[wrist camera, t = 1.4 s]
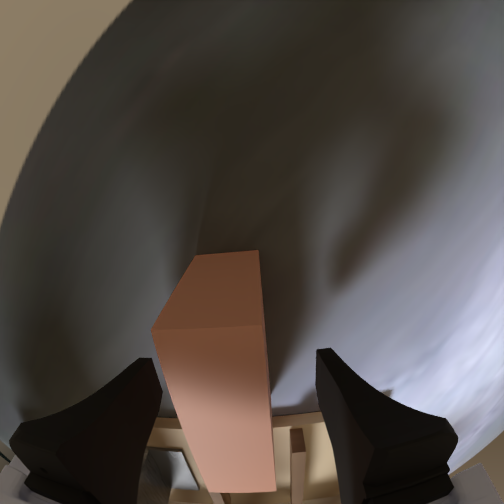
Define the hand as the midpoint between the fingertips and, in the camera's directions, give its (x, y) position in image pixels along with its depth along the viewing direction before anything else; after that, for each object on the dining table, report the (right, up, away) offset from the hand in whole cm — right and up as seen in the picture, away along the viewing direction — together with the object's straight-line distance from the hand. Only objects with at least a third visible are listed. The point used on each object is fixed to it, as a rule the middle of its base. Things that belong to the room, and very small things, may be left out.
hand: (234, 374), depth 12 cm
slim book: (0, +1, +3) cm, 4 cm away
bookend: (-5, -11, +6) cm, 14 cm away
